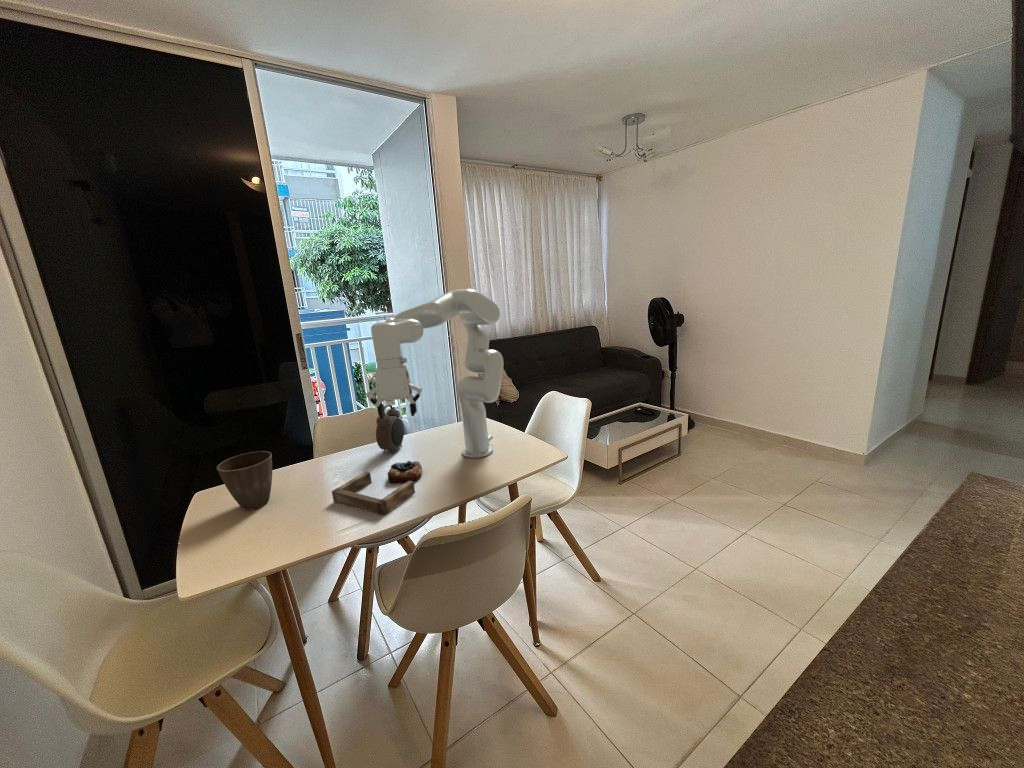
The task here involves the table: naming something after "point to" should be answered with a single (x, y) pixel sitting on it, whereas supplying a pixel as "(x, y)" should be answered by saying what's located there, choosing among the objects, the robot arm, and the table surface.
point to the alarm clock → (390, 430)
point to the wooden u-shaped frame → (374, 505)
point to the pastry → (404, 472)
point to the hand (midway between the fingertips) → (398, 416)
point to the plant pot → (248, 478)
